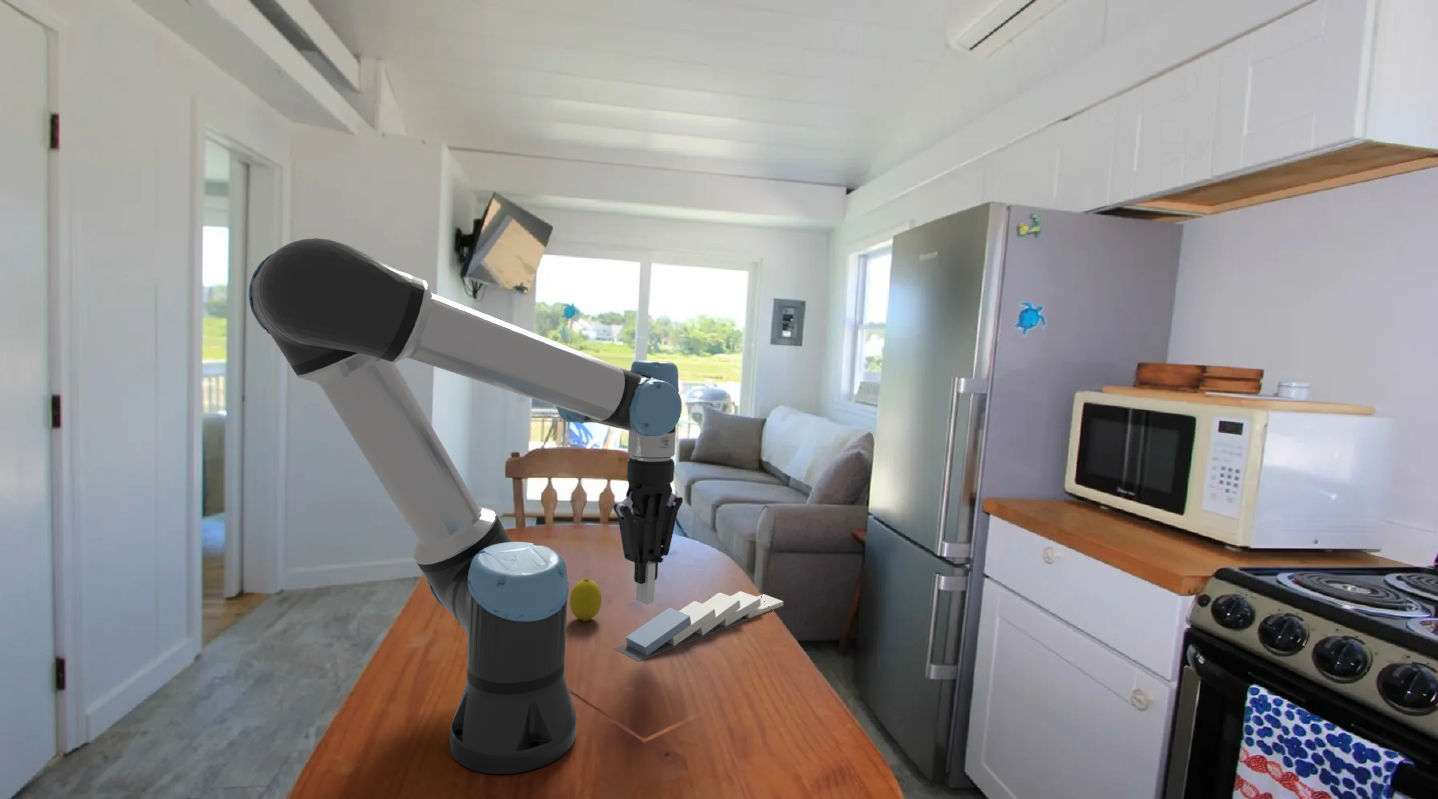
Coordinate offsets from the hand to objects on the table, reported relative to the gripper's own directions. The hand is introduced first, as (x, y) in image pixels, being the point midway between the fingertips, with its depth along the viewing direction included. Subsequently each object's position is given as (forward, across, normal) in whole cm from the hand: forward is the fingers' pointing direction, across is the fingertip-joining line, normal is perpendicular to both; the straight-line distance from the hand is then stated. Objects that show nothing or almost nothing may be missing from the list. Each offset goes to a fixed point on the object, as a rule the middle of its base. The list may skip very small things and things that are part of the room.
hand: (644, 600), depth 113 cm
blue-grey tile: (+7, -1, 0) cm, 7 cm away
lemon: (+9, 0, +16) cm, 18 cm away
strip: (+8, +10, 0) cm, 13 cm away
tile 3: (+7, +11, 0) cm, 13 cm away
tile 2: (+7, +4, 0) cm, 8 cm away
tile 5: (+8, +24, 0) cm, 25 cm away
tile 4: (+7, +17, 0) cm, 19 cm away
